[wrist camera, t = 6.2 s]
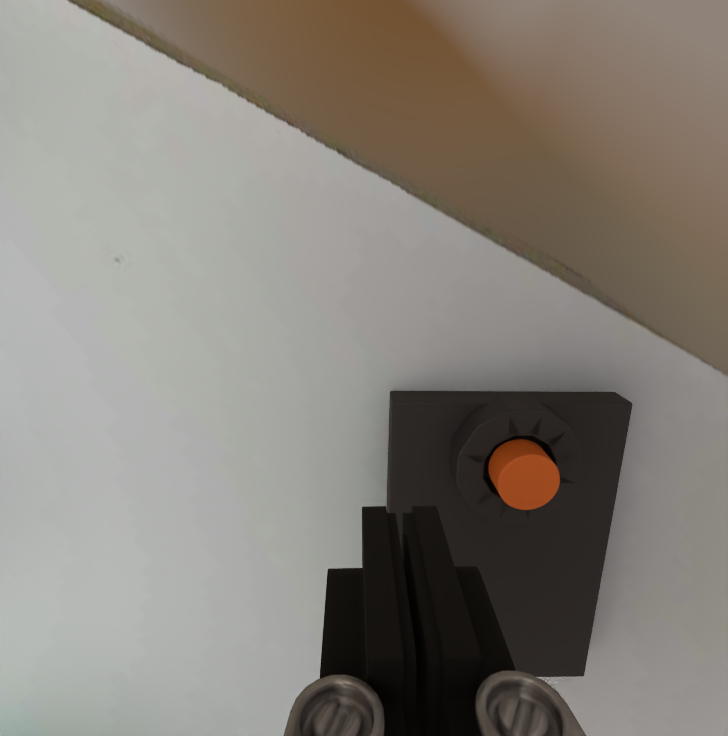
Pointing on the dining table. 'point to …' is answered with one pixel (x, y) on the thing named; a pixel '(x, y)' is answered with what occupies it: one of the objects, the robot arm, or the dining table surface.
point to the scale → (510, 525)
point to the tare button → (523, 474)
